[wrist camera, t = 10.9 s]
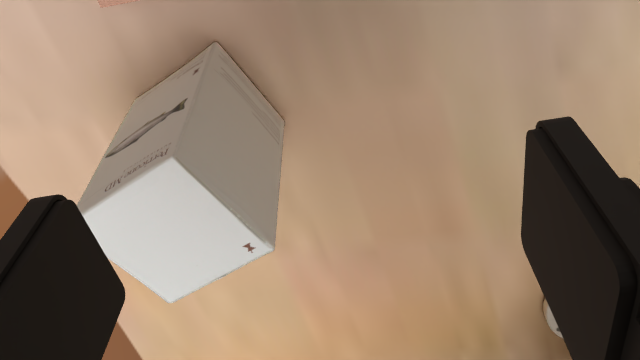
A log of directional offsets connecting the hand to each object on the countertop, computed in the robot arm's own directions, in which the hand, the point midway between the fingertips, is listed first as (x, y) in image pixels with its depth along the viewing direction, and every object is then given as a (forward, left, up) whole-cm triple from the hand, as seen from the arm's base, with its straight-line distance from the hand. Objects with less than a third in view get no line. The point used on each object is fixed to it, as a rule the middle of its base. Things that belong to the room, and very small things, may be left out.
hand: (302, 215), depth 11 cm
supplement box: (-9, +8, -23) cm, 26 cm away
